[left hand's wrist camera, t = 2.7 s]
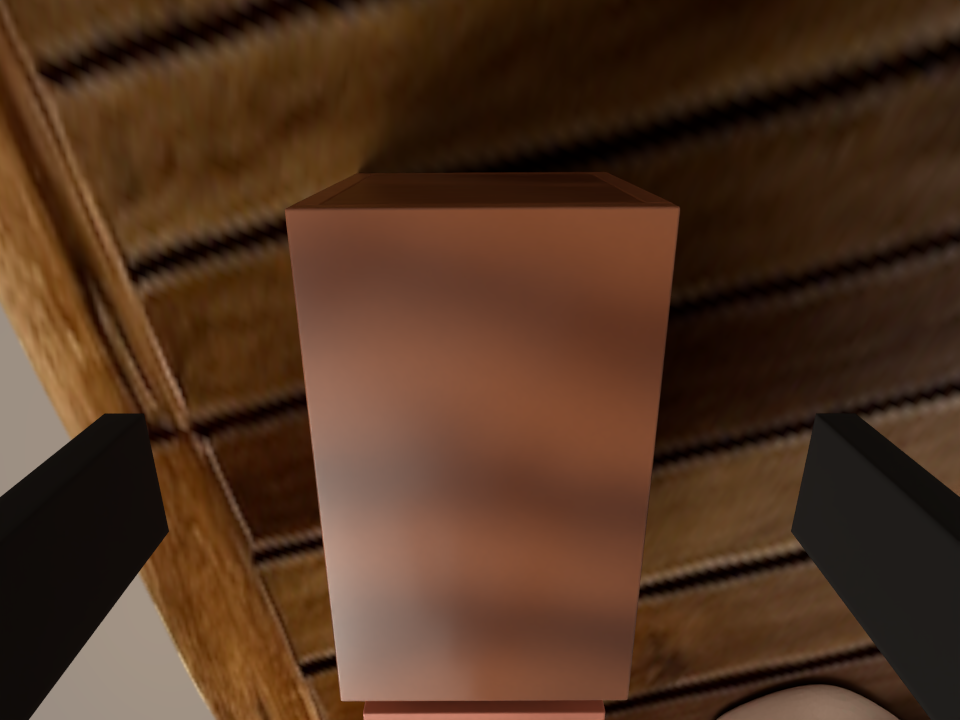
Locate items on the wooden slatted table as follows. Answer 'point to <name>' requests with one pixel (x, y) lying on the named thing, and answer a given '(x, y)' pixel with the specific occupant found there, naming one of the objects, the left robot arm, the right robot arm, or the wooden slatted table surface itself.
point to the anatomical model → (809, 706)
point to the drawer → (485, 710)
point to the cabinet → (483, 425)
